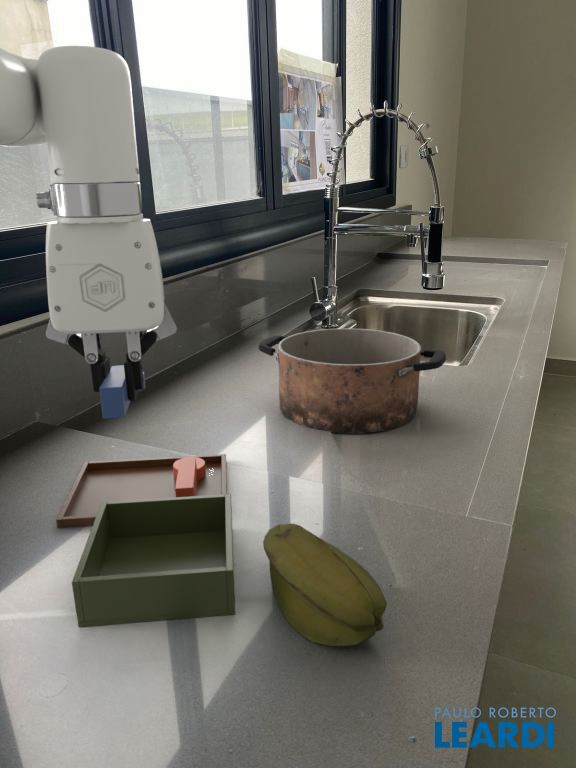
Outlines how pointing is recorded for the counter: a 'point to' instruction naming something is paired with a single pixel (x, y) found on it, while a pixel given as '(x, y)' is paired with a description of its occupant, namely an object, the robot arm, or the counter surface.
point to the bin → (157, 561)
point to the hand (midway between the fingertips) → (120, 396)
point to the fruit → (322, 588)
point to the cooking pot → (349, 378)
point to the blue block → (115, 393)
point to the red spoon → (188, 475)
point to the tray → (132, 485)
